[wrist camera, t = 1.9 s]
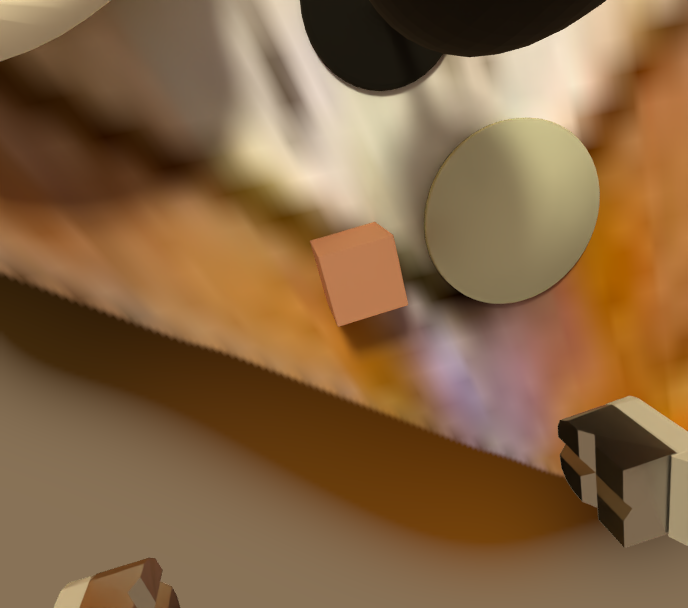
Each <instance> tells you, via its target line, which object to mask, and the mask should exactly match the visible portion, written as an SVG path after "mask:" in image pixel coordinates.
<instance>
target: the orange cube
mask: <svg viewBox="0 0 688 608" xmlns="http://www.w3.org/2000/svg"><path fill="white" fill-rule="evenodd" d="M310 243H311V247H312V250H313V254H314V257H315V261H316V264H317V268H318V271H319V275H320V278H321V281H322V285H323V288H324V292H325V295H326V299H327V302H328V305H329V307H330V309H331V312H332V314H333V316H334V319H335V321H336V323H337V325H338V327H339V326H342V325H345V324H348V323H352V322H355V321H358V320H361V319H365V318H368V317H371V316H374V315H378V314H381V313H384V312H387V311H391V310H394V309H397V308H400V307H403V306H407V305H408V302H407V297H406V292H405V288H404V283H403V278H402V274H401V269H400V264H399V260H398V255H397V250H396V246H395V241H394V236H393V235H392V234H391V233H390V232H388V231H387V230H385V229H384V228H383V227H381V226H380V225H378V224H377V223H376V222H373V223H369V224H366V225H363V226H359V227H356V228H352V229H349V230H346V231H342V232H339V233H335V234H332V235H328V236H325V237H322V238H318V239H315V240H311V241H310Z"/></svg>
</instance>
